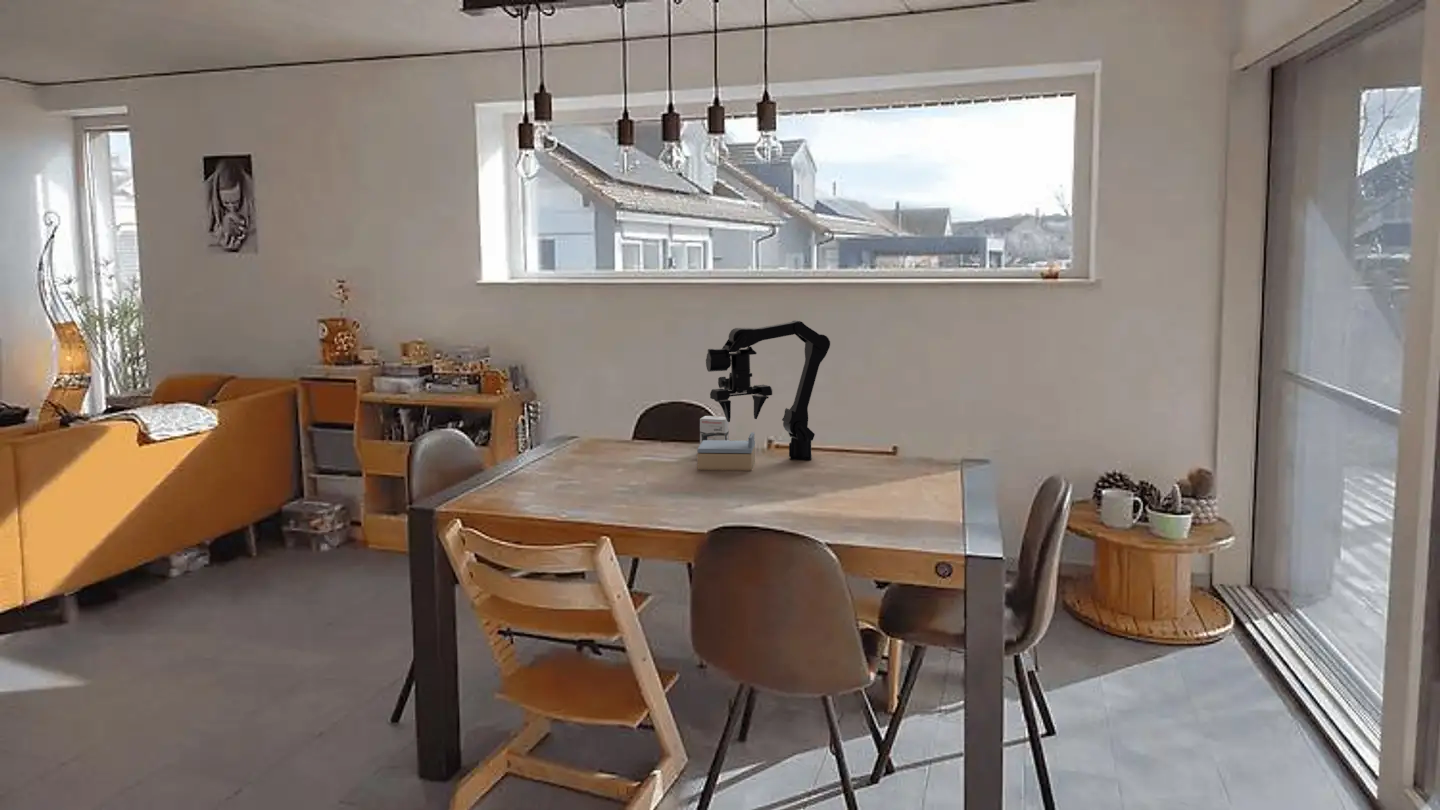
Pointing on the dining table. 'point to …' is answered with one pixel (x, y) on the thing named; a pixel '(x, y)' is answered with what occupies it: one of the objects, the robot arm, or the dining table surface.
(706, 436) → the ink box
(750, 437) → the lid
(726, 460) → the tan shallow open box
